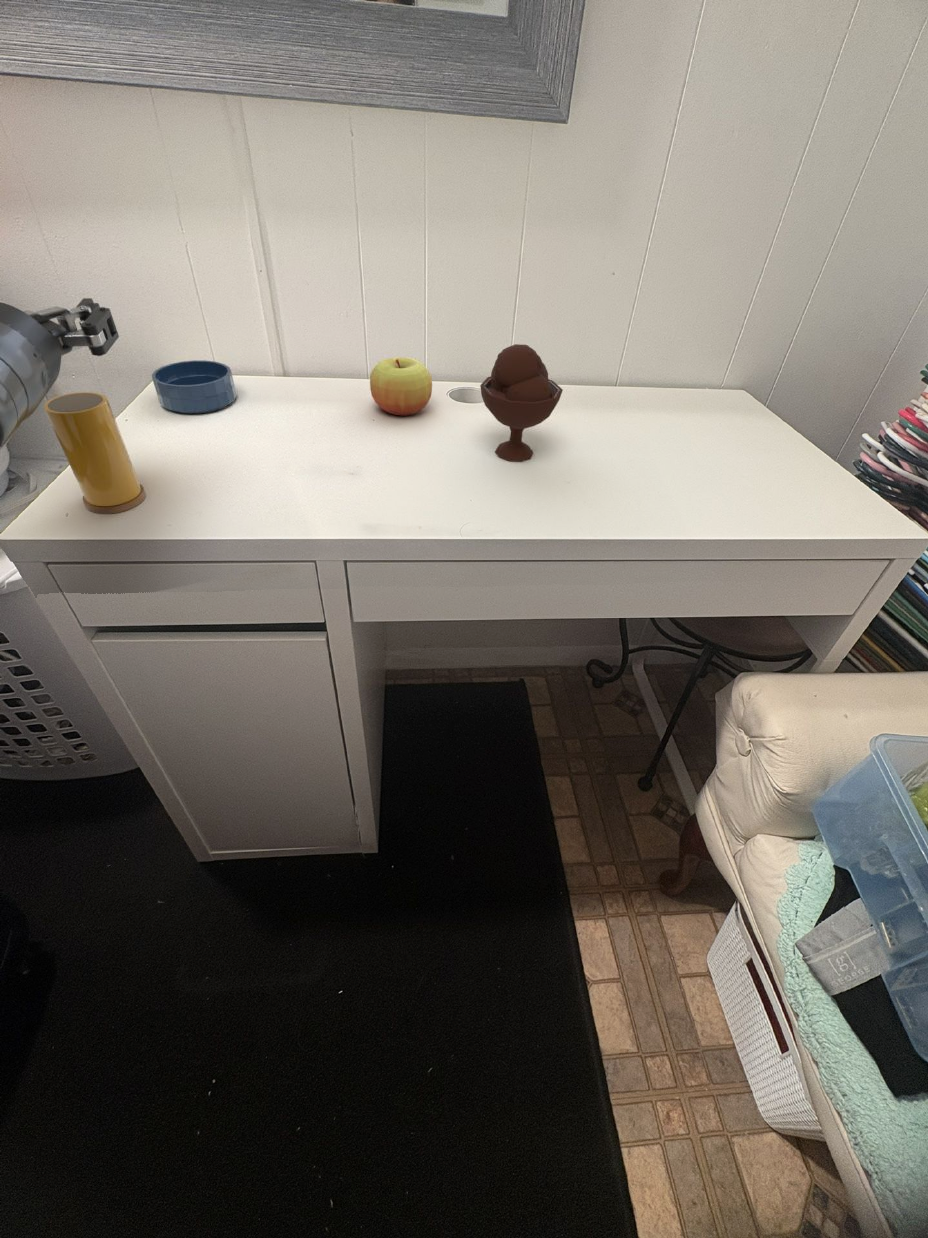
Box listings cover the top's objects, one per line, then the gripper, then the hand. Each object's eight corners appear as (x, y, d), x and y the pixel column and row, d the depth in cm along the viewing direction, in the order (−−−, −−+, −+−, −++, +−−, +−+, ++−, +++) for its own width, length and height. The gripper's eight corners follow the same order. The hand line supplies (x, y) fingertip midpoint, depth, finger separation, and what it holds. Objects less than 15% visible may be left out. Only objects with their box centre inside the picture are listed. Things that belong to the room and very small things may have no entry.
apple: (366, 419, 89) (362, 366, 83) (376, 396, 96) (373, 346, 90) (429, 423, 89) (429, 370, 83) (434, 399, 96) (434, 349, 90)
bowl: (163, 420, 85) (154, 389, 82) (158, 392, 93) (149, 364, 90) (242, 410, 89) (235, 381, 86) (231, 384, 97) (225, 357, 94)
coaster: (84, 518, 65) (81, 512, 65) (85, 491, 69) (82, 485, 69) (147, 507, 67) (145, 501, 67) (144, 482, 72) (142, 476, 71)
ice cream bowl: (555, 472, 79) (575, 359, 69) (475, 468, 78) (483, 354, 68) (549, 439, 86) (565, 333, 76) (476, 435, 86) (483, 328, 76)
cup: (84, 510, 65) (41, 416, 57) (86, 486, 69) (45, 394, 61) (142, 501, 67) (107, 409, 59) (140, 477, 71) (107, 388, 63)
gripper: (71, 312, 44) (109, 265, 55) (-151, 316, 41) (-62, 266, 52) (107, 408, 49) (135, 347, 60) (-87, 418, 46) (-19, 352, 57)
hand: (44, 309), depth 56 cm, fingers open, 8 cm apart
